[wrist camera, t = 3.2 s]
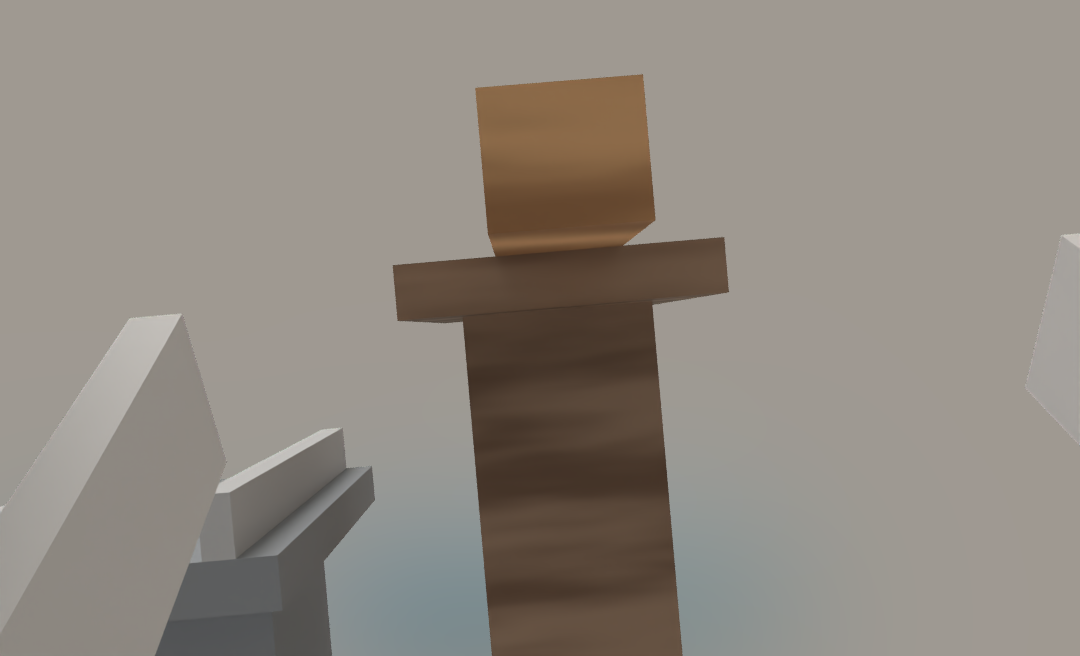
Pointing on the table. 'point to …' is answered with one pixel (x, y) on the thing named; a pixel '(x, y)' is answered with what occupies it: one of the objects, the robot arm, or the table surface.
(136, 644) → the robot arm
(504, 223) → the wooden grain block
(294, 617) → the cradle
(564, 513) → the tall stand
